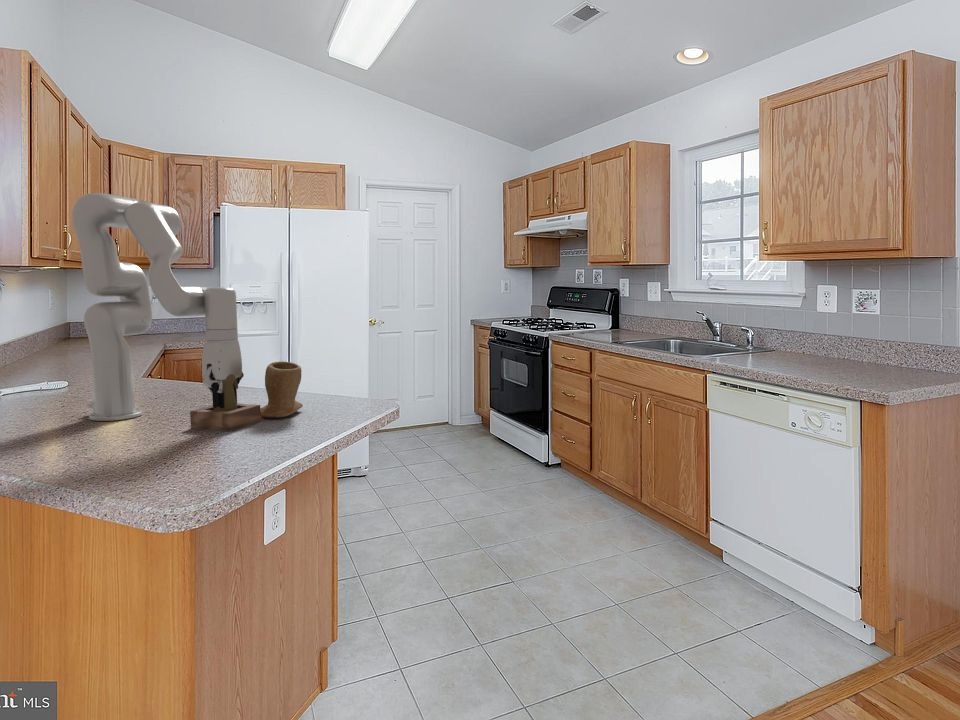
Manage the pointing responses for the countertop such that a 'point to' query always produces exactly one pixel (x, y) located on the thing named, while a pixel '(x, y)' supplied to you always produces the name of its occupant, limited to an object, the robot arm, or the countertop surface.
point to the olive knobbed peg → (228, 394)
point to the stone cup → (281, 389)
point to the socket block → (225, 417)
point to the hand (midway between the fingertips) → (225, 405)
